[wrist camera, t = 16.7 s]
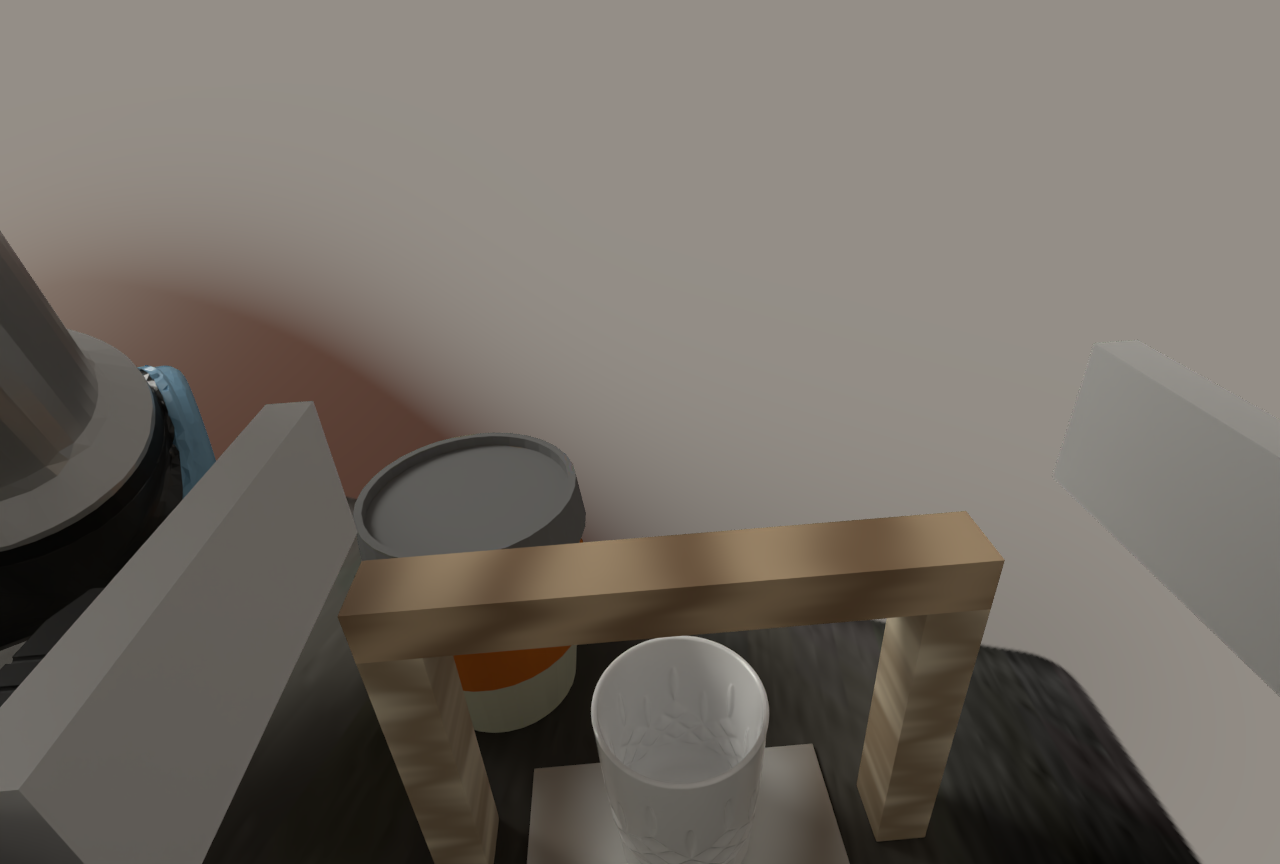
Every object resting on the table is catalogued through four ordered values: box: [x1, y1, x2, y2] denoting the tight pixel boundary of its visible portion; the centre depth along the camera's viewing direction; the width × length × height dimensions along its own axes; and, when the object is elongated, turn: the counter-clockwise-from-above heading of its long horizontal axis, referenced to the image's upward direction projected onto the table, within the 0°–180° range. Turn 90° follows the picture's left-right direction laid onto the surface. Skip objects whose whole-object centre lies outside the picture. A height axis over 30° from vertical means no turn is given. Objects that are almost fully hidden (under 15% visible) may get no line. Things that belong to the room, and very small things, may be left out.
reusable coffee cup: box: [353, 433, 586, 733], centre depth 41 cm, size 13×13×15 cm
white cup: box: [591, 636, 769, 864], centre depth 33 cm, size 8×8×10 cm
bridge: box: [338, 511, 1005, 864], centre depth 31 cm, size 24×8×18 cm, turn 94°
